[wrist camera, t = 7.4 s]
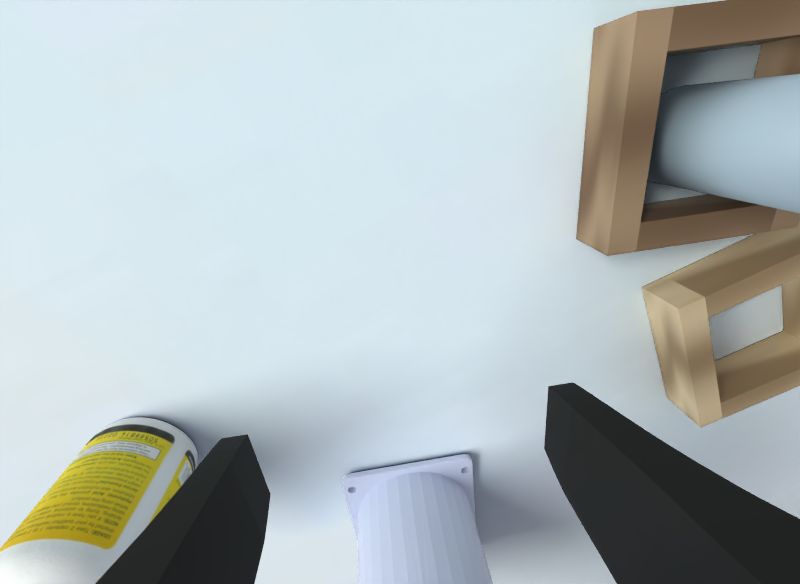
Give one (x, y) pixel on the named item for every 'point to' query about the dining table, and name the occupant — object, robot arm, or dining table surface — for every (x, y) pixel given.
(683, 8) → the wooden square ring
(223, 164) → the dining table surface
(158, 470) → the supplement bottle
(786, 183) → the thick gray cylindrical peg
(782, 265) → the light wooden square frame
